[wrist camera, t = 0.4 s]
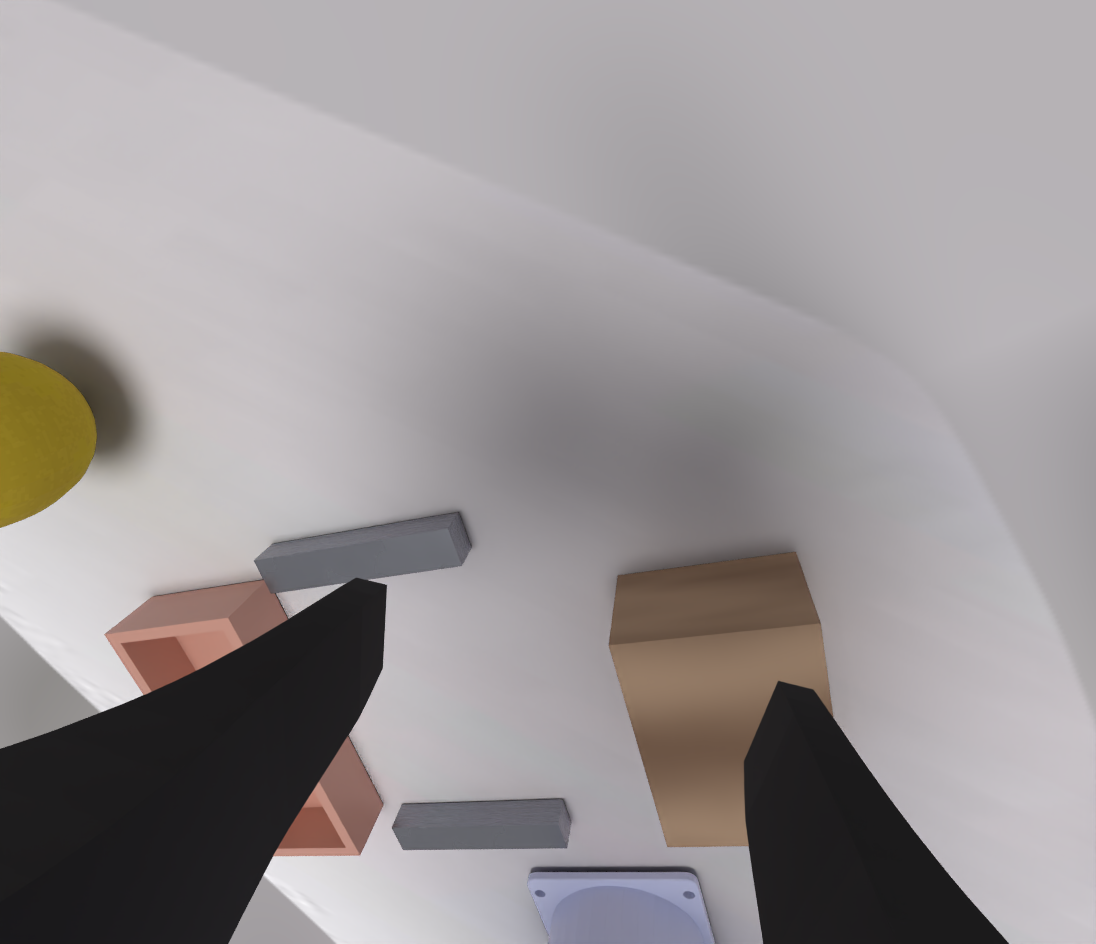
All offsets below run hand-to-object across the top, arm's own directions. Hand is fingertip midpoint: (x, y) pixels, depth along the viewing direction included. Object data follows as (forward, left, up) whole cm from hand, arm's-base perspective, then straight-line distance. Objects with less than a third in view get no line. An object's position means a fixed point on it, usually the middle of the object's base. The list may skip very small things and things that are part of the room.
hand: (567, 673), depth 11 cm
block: (-9, -2, -10) cm, 14 cm away
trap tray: (-9, +18, -10) cm, 22 cm away
